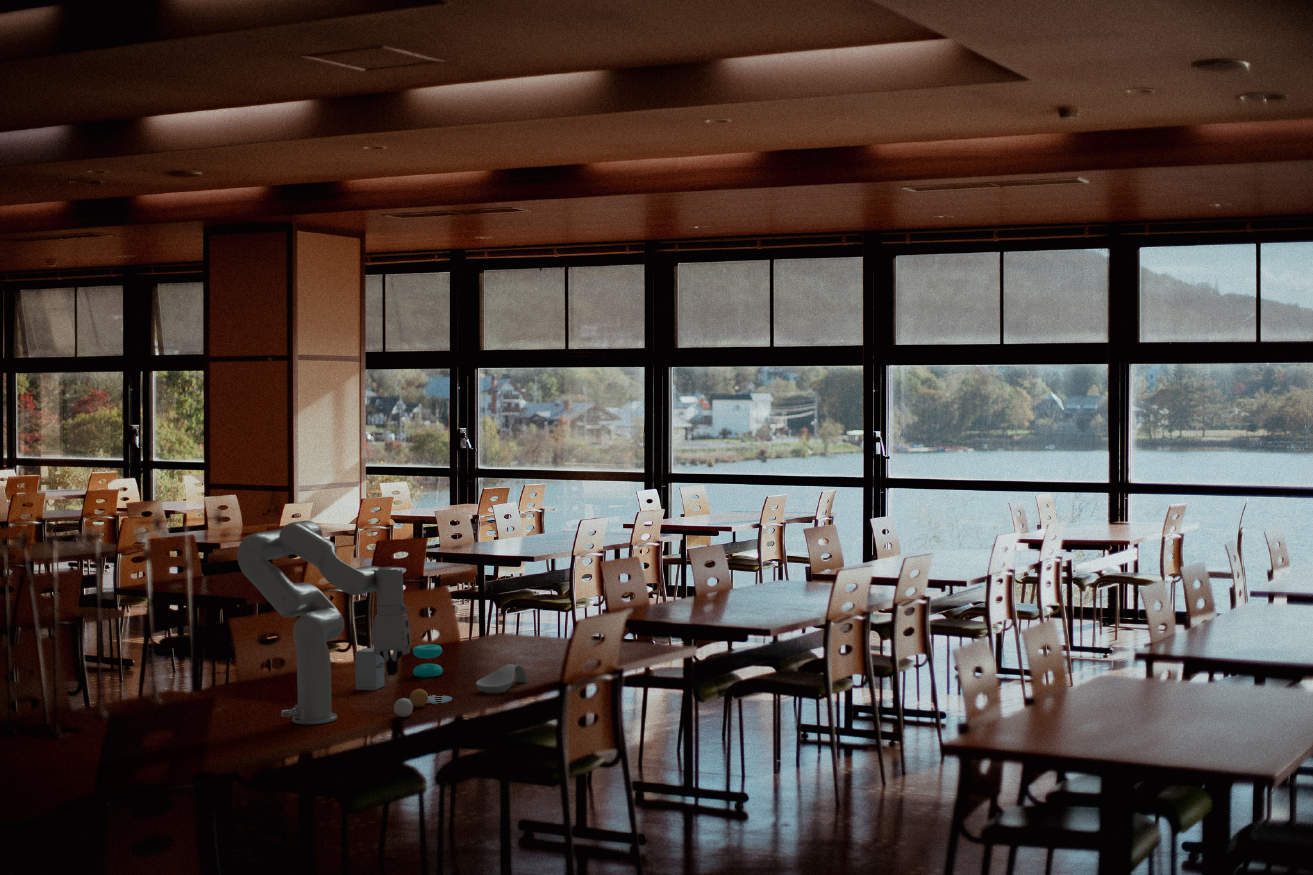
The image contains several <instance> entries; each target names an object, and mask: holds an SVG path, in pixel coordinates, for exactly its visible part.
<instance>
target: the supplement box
mask: <svg viewBox="0 0 1313 875" xmlns="http://www.w3.org/2000/svg"><path fill="white" fill-rule="evenodd" d="M373 650H374V648H373V647H369V648H368V647H366V648H361V649H359V650H357V651H355V653H354V655H355V657H354V658H355V661H354V662H355V665H354V666H355V668H354V669H355V690H356V691H357V690H358V691H361V690H362V691H377V690H378V689H380V688H382V687H385V660H384V658H383V657H382V656H381V655H377V654H374V653H373Z"/></svg>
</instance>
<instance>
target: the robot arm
mask: <svg viewBox="0 0 1313 875" xmlns="http://www.w3.org/2000/svg"><path fill="white" fill-rule="evenodd" d="M337 549H338V548H337V545H336V543H334V542H333V541H330V540H329V539H328V538H325V537H324V536H323V531H322V528H321V527H320V526H319V525H318V524H317V523H316V522H314V521H311V520H302V521H301V520H299V521H294V522H290V523H287V524H286V525H284V526H283V527H282V528H278V529H274V530H268V531H259V532H254V533H252V534H248V535H247V536H245V537H244V538H243V539H242V540H241V541H240V543H239V545H238V548H237V553H236V554H237V556H236V557H237V563H238V566H239V568H240V570H241V573H242V574H243V575H244V577H246V578H247V580H248V581H249V582H250V583H251V584H252V585H253V586H255V588H256V589H257V590H258V591H259V592H260V593H261V594H262V596H263V597H264V598H265V599H266V600H267V602H269V604H270V605H271V606H272V607H273V608H274V610H275V611H276V612H278V614H279V615H280V616H282V617H284V618H285V619H286V618H287V619H289V618H296V617H298V618H297V619H296V620H295V622H294V625H293V629H292V630H293V631H292V634H293V641H294V646H295V652H296V671H297V672H296V677H297V678H296V679H297V680H296V681H297V682H296V683H297V704H295V705H294V707H293V708H290V709H283V710H281V712H280V716H281V717H282V718H285V717H286V718H287V717H288V718H292V722H293V723H294V724H297V725H321V724H328V723H330V722H334V721H337V719H338V714H337V713H335V712H332V710H333V709H332V708H333V707H332V670H331V668H332V667H331V663H332V662H331V654H330V650H329V646H328V644H327V642H329V641H332V640H334V639H337V638H339V636H340V635H341V634H342V633H343V632H344V628H345V620H344V617H343V616H342V613H341V612H340V611H339V610H338V608H337V607H336V606H335V605H334V604H333V603H332V601H331V600H330V599H329V598H328V597H327V596H326V595H325V594H324V593H323V591H321V590H320V589H319V588H318V587H317V585H314V584H312V583H311V582H297V583H295V582H293V581H291V580H290V579H289V577H287V576H286V574H285V573H284V571H282V570H281V569H280V568H278V567H277V566H276V565H275V564H273V563H271V562H270V560H275V559H280V558H284V557H288V556H291V555H295V556H297V557H298V558H301V559H302V560H304V561H305V562H307V563H309V564H310V565H311V566H313V567H314V568H316V569H318V571H319V573H320V574H321V575H322V577H323V578H324V579H325V580H326V581H327V582H328V583H329V584H331V585H332V586H334V587H336V588H337V589H339V590H340V591H342V592H344V593H346V594H348V595H350V596H351V595H352V596H359V595H364V594H367V593H372V592H376V612H377V614H376V615H375V617H374V621H373V629H372V648H374V650H373V653H374V654H377V655H381V656H382V657H383V658H384V662H386V663H385V665H386V666H385V667H386V672H387V676H395V675H397V674H398V672H399V660H400V658H401V657H402V656H404V655H408V654H410V653H411V649H410V647H411V644H412V640H411V639H412V638H411V637H412V636H411V630H410V622H409V617H408V614H406V612H407V611H409V609H410V608H409V606H407V605H405V602H404V601H405V600H404V576H403V569H402V568H400V567H399V566H384V567H382V566H377V565H376V566H375V565H367V566H366V565H365V566H362V567H361V566H360V567H355V568H354V567H353V566H351V565H350V564H348V563H346V562H345V561H343V560H341V559H340V558H339V557H338V556H337Z"/></svg>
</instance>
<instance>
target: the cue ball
mask: <svg viewBox="0 0 1313 875" xmlns="http://www.w3.org/2000/svg"><path fill="white" fill-rule="evenodd" d="M409 699H410V698H407V697H402V698H399V699H397V700H396V702H395V703H394V706H393V711H394V713H395V715H396V716H398V717H400V718H406V717H408V716H410V715H411V714H412V712H413V709H414V706H413V704H412V702H411V701H410V700H409Z"/></svg>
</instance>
